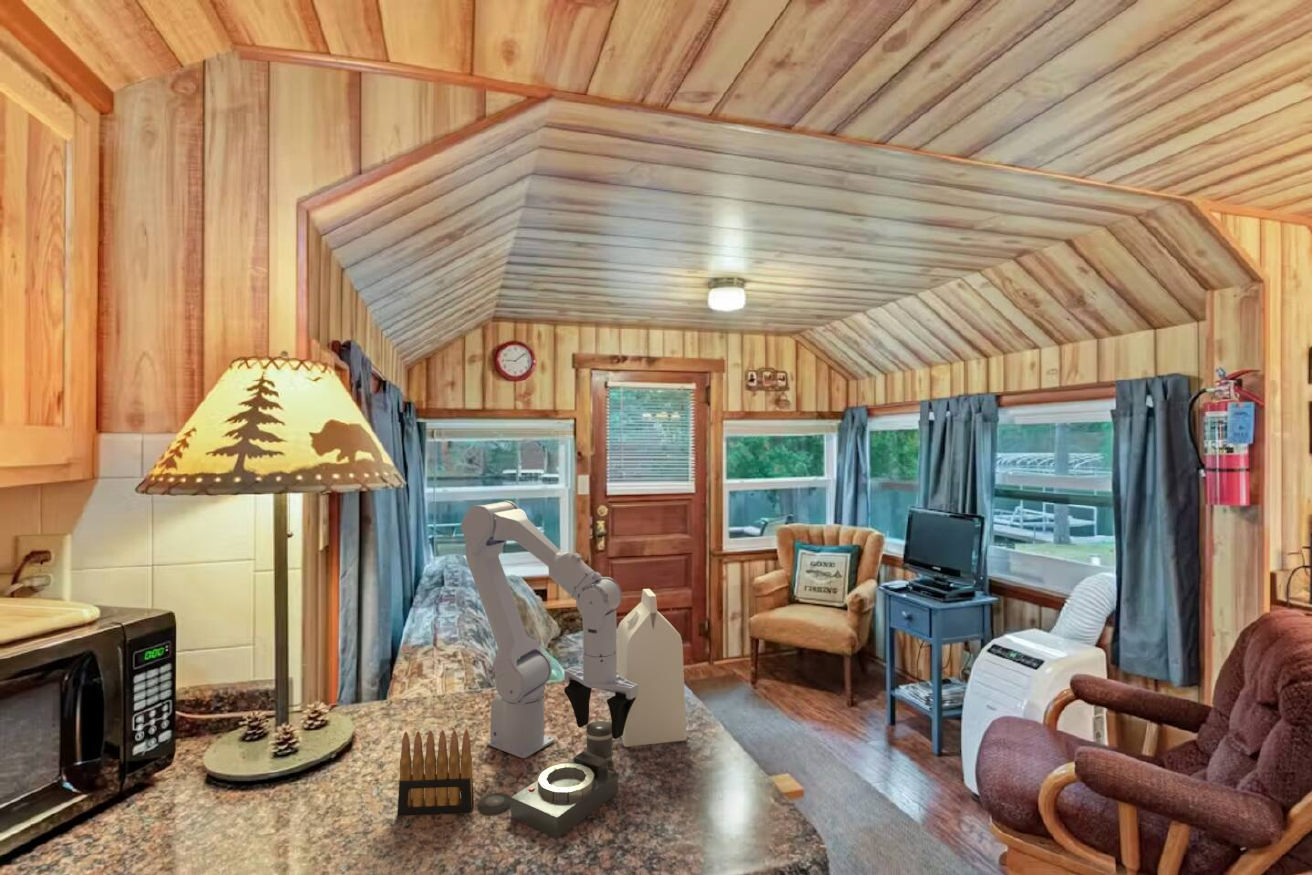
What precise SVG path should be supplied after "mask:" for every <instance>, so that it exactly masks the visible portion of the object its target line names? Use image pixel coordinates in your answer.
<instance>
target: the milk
mask: <svg viewBox="0 0 1312 875" xmlns="http://www.w3.org/2000/svg"><path fill="white" fill-rule="evenodd" d="M657 603H658V602H657V595H656V594H655V593H654V592H653V590H651V588H643V589H642V592H641V600H640V602H639V603H638V604H637V605H636V606H635V607H634V608H633V609H632V610H631V611H629V613H627V615H626V616H625V617H624V618H622V620H621V621H620V622H619V624H618V626H617V671H618V675H619V676H620V677H622V678H624V679H626V680H628V681H630V682H632V683H635V684H638V696H636V699H635V701H634V702H633V704H632V706H631V709H630V711H629V713H628V716H627V719H626V723H625V727H624V732H623V735H622V736H621V737H620V739H621V740H622V743H623V746H624V747H625V748H626V747H627V748H628V747H636V746H644V745H646V746H647V745H654V744H661V743H662V744H663V743H664V744H665V743H673V742H681V741H687V740H688V739H687V719H686V718H687V717H686V716H687V715H686V696H685V694H686V693H685V692H686V691H685V674H684V672H685V670H684V647H683V646H684V645H683V640H682V636H681V634H680V633H679V632H678V631H677V629H676V628H675V626H673V625H672V623H671V622H670V621H669V620H668V619H667V618H666V617H665V616H663V614H661V613H660V612H659V611H658V604H657Z"/></svg>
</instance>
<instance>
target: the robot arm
mask: <svg viewBox="0 0 1312 875" xmlns="http://www.w3.org/2000/svg"><path fill="white" fill-rule="evenodd" d="M460 529H461V531H462V534H463V537H464V539H465V543H464V544H465V558H466V562H467V565H468V567H469V570H470V573H471V575H472V576H471V577H472V579H473V582H474V585H475V587H476V590H477V592H478V595H479V598H480V601H481V604H482V606H483V609H484V612H485V615H486V618H487V621H488V624H489V627H490V628H491V631H492V635H493V638H494V640H495V643H496V646H497V652H496V653H495V654H496V655H495V656H494V659H493V662H492V669H493V670H494V686H495V689H496V691H497V692H496V695H495V696H494V698H493V700H492V702H491V706H490V739H489V740H488V741H486V745H488V746H490V747H492V748H495V749H498V750H500V751H503V752H505V753H507V754H509V755H513V756H515V757H518V758H520V759H526V758H528V757H530V756H532V755H533V754H535V753H537V752H538V751H541V750H542V749H545V747H547V746H549V745H551V744H553V743H555V738H554V737H552V736H548V735H546V734H545V690H546V683H547V682H549V681H550V678H551V676H552V673H553V672H552V670H553V668H552V663H551V661H550V659H549V657H548V656H547V655H546V654H545V653H544V652H543V650H542V648H541V646H540V644H539V642H538V641H536V640H535V639H534V638H533V639H532V638H531V637H529V636H528V634H527V632H526V629H525V625H524V623H523V620H522V617H521V614H520V612H519V609H518V607H517V603H516V600H515V598H514V596H513V593H512V590H511V588H510V584H509V582H508V579H507V577H506V573H505V570H504V568H503V566H502V563H501V562H502V561H501V559H500V554H501V551H502V549H503V547H504V546H505V544H506V543H507V542H508V541H509V542H515V543H517V544H518V545H520V546H521V547H522V548H523V549H525V550H526V551H527V552H529V553H530V554H531V555H533V556H534V558H536V559H537V560H539V561H540V562H542V563H543V564H544V565H546V567H547V568H548V576H549V578H550V579H552V581H553V582H555V583H556V584H557V585H558V586H559V587H560V588H562V590H564V591H565V592H566V593H567V594H568V595H569V596H570V597H571V598H573V599H574V600H575V603H576V609H577V610H578V612H579V614H580V615H581V620H582V662H583V663H582V668H578V667H577V668H576V667H573V666H572V667H569V668H566V669H565V670H563V672H564V682H566V683H568V685H567V686H565V687H564V688H563V689H564V691H563V692H564V693H565V695H566V697H567V698H568V700H569V702H570V705H571V708H572V709H573V713H574V717H575V721H576V724H577V727H578V728H583V727H584V726H587V725H588V724H589V719H590V702H591V701H590V700H591V694H592V690H593V689H598V690H601V691H605V692H609V693H613V694H614V695H613V696H611V697H610V698H608V699H607V700H606V703H607V706H608V710H609V713H610V720H611V722H610V723H611V726H612V740H613V739H614V740H617V739H620V738H621V736H622V735H623V732H624V727H625V723H626V719H627V716H628V713H629V711H630V709H631V706H632V704H633V702H634V701H635V699H636V696H638V684H635V683H632V682H630V681H628V680H626V679H624V678H622V677H620V676H619V675H618V671H617V630H618V626H617V610H616V609H617V608H619V606H620V604H621V602H622V601H623V600H622V599H623V593H622V589H621V586H620V585H619V584H618V582H617V581H616V580H615V579H614V578H612V577H610V576H602V574H601V573H600V572H599V571H594V570H593V568H591V567H590V566H589V565H588V564H586V563H585V562H584V561H583V560H582V558H583V556H582V555H581V554H579V553H578V552H575V553H573V552H572V551H570V550H569V551H561V550H560V549H559V547H557V545H555V544H554V543H553V542H552V541H551V540H550V539H549V538H548V537H547V536H546V535H545V534H544V533H543V532H542V531H541V530H540V529H539V528H538V527H537V526H536V525H535V524H534V523H533V522H532V521H531V520H530V519H529V518H528V515H527V514H526V511H524V510H523V509H521V508H519V506H518V505H517V504H516V503H514V502H513V501H510V500H502V501H499V502H494V503H493V502H492V503H489V504H476V505H473V506H471V507H470V508H468V509H467V511H466V512H465V514H464V517H463V519H462V521H461V524H460Z"/></svg>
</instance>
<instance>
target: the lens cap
mask: <svg viewBox="0 0 1312 875" xmlns="http://www.w3.org/2000/svg"><path fill="white" fill-rule="evenodd" d="M511 797H512V796H510V795H509V794H507V793H504V792H493V793H489V794H486V795H484V796H483V797H481V798H480V799H479V800H478V802H477V809H478V812H480V813H482V814H484V815H498V814H501V813H503V812H506V811H507V810H509V809H511Z"/></svg>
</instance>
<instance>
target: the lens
mask: <svg viewBox="0 0 1312 875" xmlns="http://www.w3.org/2000/svg"><path fill="white" fill-rule="evenodd" d="M585 736H586V752H587V753H590V754H593V755H596V756H598V757H601V758H604V759H607V760H608V767H609V766H611V765H612V764H613V757H614V750H613V737H612V726H611V722H609V721H604V720H598V721H597V720H595V721H592V722H590V723H588V724H586V730H585Z"/></svg>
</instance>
